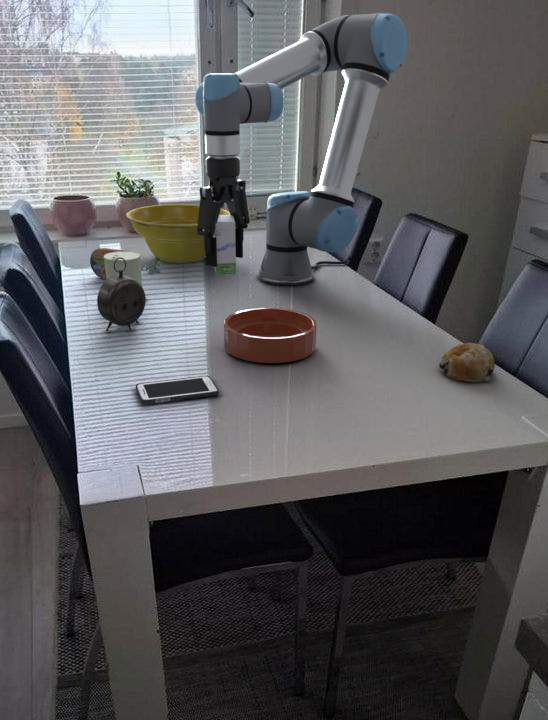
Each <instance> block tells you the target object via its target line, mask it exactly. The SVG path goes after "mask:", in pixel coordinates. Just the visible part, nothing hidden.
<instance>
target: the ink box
mask: <svg viewBox="0 0 548 720" xmlns="http://www.w3.org/2000/svg"><path fill="white" fill-rule="evenodd" d="M235 228H236V227H235V220H234V217H233V216H232V215H219V217H218V221H217V223H216V229H215V232H214V236H213V237H216V245H217V267H214V271H215V275H216V276H220V275H221V276H222V275H224V276H225V275H237V257H236V244H235Z"/></svg>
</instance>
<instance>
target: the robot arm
mask: <svg viewBox="0 0 548 720" xmlns="http://www.w3.org/2000/svg"><path fill="white" fill-rule="evenodd" d="M407 52H408V35H407V31H406V27H405V24H404V22H403V21H402V19H401V18H400V17H399V16H398V15H396V14H394V13H384V12H376V13H364V14H362V13H361V14H345V15H341V16H337V17H335V18H333V19H331V20H329V21H326V22H324V23H322V24H320V25H319V26H316V27H315V28H314V27H313V28H312V29H310V30H309V31H306V32H305V33H303V34H302V35H301V37H300V38H299V40H298V41H296V42H295V43H293V44H291V45H288V46H286V47H285V48H284V47H283V48H282V49H279V51H276V52H274V53H272V54H270V55H268V56H265V57H264V58H262V59H260V60H259V61H256V62H253V63H252V64H250V65H248V66H246V67H244V68H242V69H240V70H238V71H236V72H234V73H231V72H230V73H229V72H227V73H225V72H224V73H223V72H222V73H216V72H215V73H207V74H205V75H204V77H203V82H201V83H200V84H199V86H198V87H197V89H196V91H195V95H194V104H195V107H196V110H197V111H198V113H199V114H200V115H201V116H202V117H203V123H204V144H205V145H204V146H205V147H204V149H205V155H207V157H206V158H205V174H206V176H207V177H208V179H209V182H208V186H200V187H199V205H200V207H199V216H198V226H197V234H198V235H200V236H203V237H204V250H205V252H206V256H205V266H208V267H212V268H215V267H217V245H216V237H213V236H214V232H215V229H216V223H217V221H218V217H219V213H220V209H223V207H224V206H225V205H224V204H226V206H227V207H226V208H227V210H228V211H229V212H230V215H232V216H233V217H234V220H235V244H236V258H239V259H242V258H244V236H245V235H244V230H246V229H248V227H249V224H250V221H251V219H250V213H249V207H248V199H247V193H246V186H247V185H246V184H247V181H246V180H244V179H237V178H238V177H239V176H240V174H241V159H240V157H239V155H240V154H241V136H240V135H241V134H240V133H241V132H240V131H241V130H240V129H241V125H243V124H255V123H257V124H258V123H265V124H267V123H269V122H274V121H277V120H278V119H279V118H280V117H281V115H282V113H283V110H284V99H285V98H284V94H283V91H282V89H285V88H286V87H288V86H291V85H292V84H295V83H296V82H298V81H301V80H302V79H304V78H306V77H308V76H312V77H313V76H315V77H318V76H320V75H322V74H324V73H327V72H335V71H337V72H338V71H339V72H341V76H342V77H343V80H344V87H343V90H342V94H341V98H340V101H339V105H338V110H337V113H336V117H335V121H334V125H333V128H332V133H331V136H330V140H329V144H328V147H327V152H326V155H325V159H324V163H323V167H322V170H321V174H320V178H319V183H318V184H317V185H316V186H314V188H312V189H310V192H309V191H306V190H301V191H300V190H299V191H286V192H285V191H284V192H277V193H272V194H271V195H269V197H268V198H267V203H266V209H265V212H266V213H265V214H266V215H265V222H266V223H265V224H266V225H265V226H266V227H265V228H266V229H265V253H264V256H263V258H262V261H261V265H260V268H259V272H258V277H259V278H258V279H259V280H260V281H261V282H263V283H265V284H270V285H274V286H300V285H304V284H307V283H310V282H312V280H313V270H317V268H318V266H319V265H345V264H347V263H348V262H349V260H352V256H351V255H350V254H347V255H346V258H345V260H341V261H334V260H333V261H332V260H331V261H330V260H320V261H317V262H315V264H314V265H313V266H312V265H311V261H310V257H309V252H308V248H311V249H315V250H318V251H320V252H329V253H337V252H342V250H344V249H345V248H346V247H348V246H349V245H350V243H351V242H352V241H353V239H354V237H355V236H356V233H357V229H358V225H359V220H358V213H357V211H356V210H355V209H354V205H355V199H354V197H353V196H352V191H353V187H354V183H355V180H356V177H357V174H358V169H359V165H360V161H361V158H362V155H363V151H364V147H365V144H366V140H367V136H368V132H369V129H370V126H371V122H372V119H373V115H374V111H375V107H376V104H377V100H378V97H379V94H380V91H381V90H382V89H384V88H385V87H387V86H388V84H389V82H390V81H389V80H390V77H391V74H393V73H395V72H398V70H400V69H401V67H402V66H403V65H404V63H405V61H406V57H407ZM202 229H203V230H202ZM209 230H210V232H209Z"/></svg>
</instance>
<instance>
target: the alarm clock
mask: <svg viewBox="0 0 548 720" xmlns="http://www.w3.org/2000/svg"><path fill="white" fill-rule="evenodd" d="M118 259H123V258H122V257H119V258H117V259H116V260H115V262H114V269H115V271H116V272H118V273H119V275H114V276H112V277H110V278H108V279H105V281H104V282H103V283H102V284H101V286H100V288H99V290H98V292H97V298H96V305H97V311H98V312H99V314H100V316H101V317H102V319H104V320H105V321H107V322H108V323H107V327H106V329H105V332H107V333H108V332H109V330H110V328H111V327H112V325H114V326H115V325H116V326H118V327H127V329H128V331H129V332H131V331H132V327H131V325H133V324H134V323H135V324H139V319H140V318H141V316H142V315H143V314H144V310H145V307H146V302H147V299H146V296H147V295H146V292H145V290H144V287H143V285H142V286H141V284H140V283H139V282H137V281H136V280H134V279H132V278H129V277H127V276H125V275H123V274H122V273H123V271H124V270H125V268H126V261H125V260H124V259H123V260H124V262H125V267H124V269H123V270H119V271H117V270H116V268H115V263H116V261H117V260H118Z"/></svg>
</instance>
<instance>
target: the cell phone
mask: <svg viewBox="0 0 548 720" xmlns="http://www.w3.org/2000/svg"><path fill="white" fill-rule="evenodd" d="M135 391H136V393H137V394H136V395H137V396H138V398H139V401H140V403H141V404H143V405H149V404H156V403H157V404H158V403H164V402H174V401H183V400H190V399H199V398H207V397H213V396H218V395H219V393H220V390H219V388H218V387H217V385H216V383H215V381H214V379H213V378H212V377H211V376H209V375H199V376H190V377H182V378H174V379H164V380H157V381H156V380H155V381H147V382H140V383H136V384H135Z"/></svg>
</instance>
